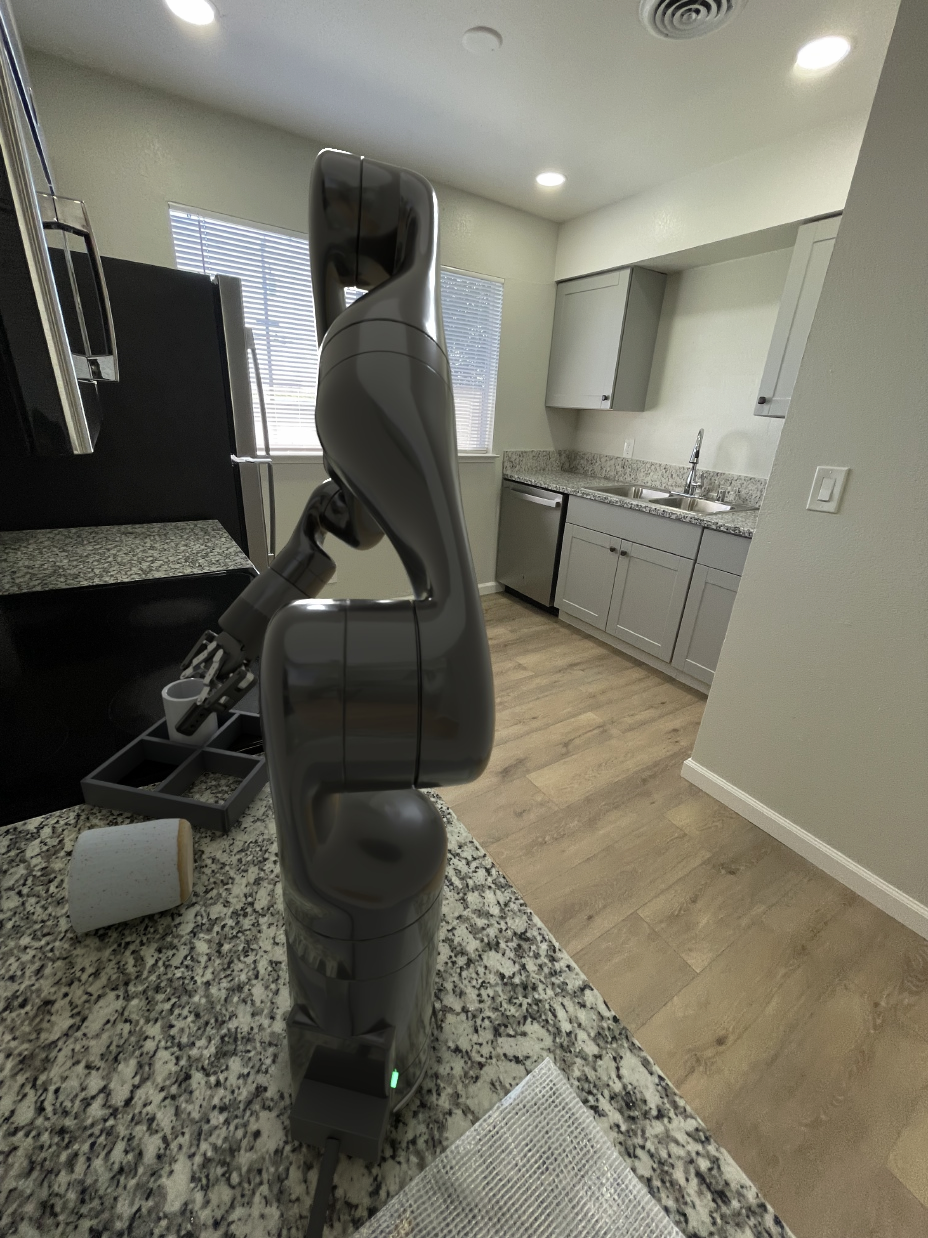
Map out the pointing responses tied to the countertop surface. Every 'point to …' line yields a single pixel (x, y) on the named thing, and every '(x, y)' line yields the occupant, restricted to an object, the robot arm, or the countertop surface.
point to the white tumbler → (176, 705)
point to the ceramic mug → (129, 872)
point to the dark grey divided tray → (182, 774)
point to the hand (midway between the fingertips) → (175, 720)
